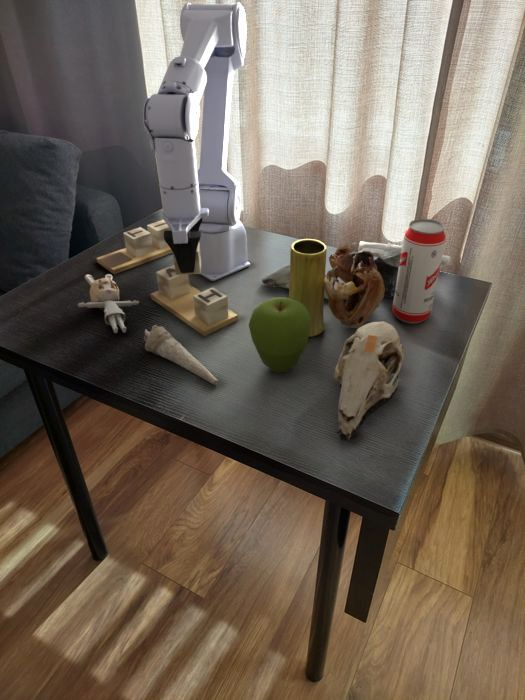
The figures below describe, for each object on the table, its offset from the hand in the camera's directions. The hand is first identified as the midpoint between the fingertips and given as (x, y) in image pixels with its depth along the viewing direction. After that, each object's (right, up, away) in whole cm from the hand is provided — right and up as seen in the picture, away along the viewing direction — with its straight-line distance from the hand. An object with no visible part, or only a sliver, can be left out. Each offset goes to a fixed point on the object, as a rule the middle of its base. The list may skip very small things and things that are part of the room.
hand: (188, 265), depth 86 cm
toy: (-14, -7, +5) cm, 17 cm away
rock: (+32, -3, +7) cm, 33 cm away
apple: (+15, -17, -8) cm, 24 cm away
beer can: (+37, -8, +2) cm, 38 cm away
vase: (+19, -10, 0) cm, 22 cm away
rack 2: (0, -7, +5) cm, 8 cm away
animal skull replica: (+26, -21, -15) cm, 36 cm away
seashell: (0, -16, -7) cm, 17 cm away
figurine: (+31, +6, +17) cm, 36 cm away
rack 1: (-13, +5, +22) cm, 26 cm away
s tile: (0, 0, 0) cm, 1 cm away
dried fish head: (+22, -4, +7) cm, 24 cm away
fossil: (+21, -3, +10) cm, 23 cm away
